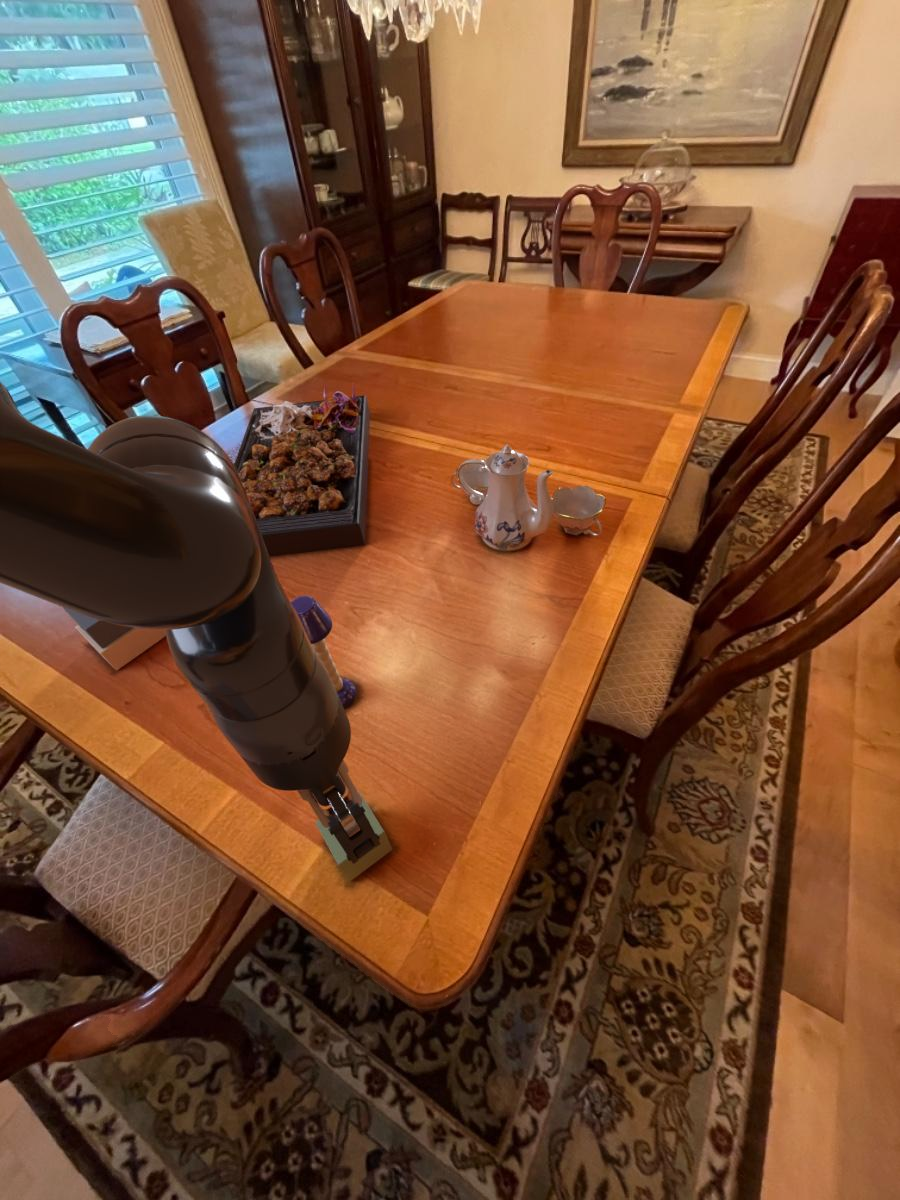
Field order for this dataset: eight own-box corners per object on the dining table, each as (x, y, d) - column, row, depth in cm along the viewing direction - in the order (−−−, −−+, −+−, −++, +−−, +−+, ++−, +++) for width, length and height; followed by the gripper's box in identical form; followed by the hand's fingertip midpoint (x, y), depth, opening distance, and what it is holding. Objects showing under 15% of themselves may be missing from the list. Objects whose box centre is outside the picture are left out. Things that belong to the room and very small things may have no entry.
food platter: (260, 426, 119) (243, 381, 112) (370, 414, 119) (360, 367, 112) (216, 562, 88) (189, 512, 81) (364, 545, 88) (351, 493, 81)
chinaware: (612, 524, 89) (632, 428, 78) (580, 581, 78) (598, 479, 67) (463, 488, 99) (461, 399, 88) (417, 534, 89) (408, 439, 78)
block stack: (116, 671, 74) (83, 634, 68) (90, 644, 78) (56, 607, 72) (168, 634, 78) (140, 596, 72) (141, 611, 82) (112, 573, 76)
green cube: (349, 881, 53) (338, 865, 49) (327, 840, 56) (314, 821, 52) (392, 849, 54) (384, 831, 51) (368, 811, 57) (359, 791, 54)
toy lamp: (313, 703, 67) (270, 615, 55) (332, 674, 70) (295, 584, 58) (346, 713, 66) (309, 626, 54) (364, 684, 69) (333, 594, 57)
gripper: (197, 673, 39) (270, 771, 51) (272, 830, 31) (339, 905, 43) (290, 623, 42) (339, 728, 54) (382, 755, 33) (417, 845, 45)
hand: (339, 806), depth 48 cm, fingers open, 8 cm apart
